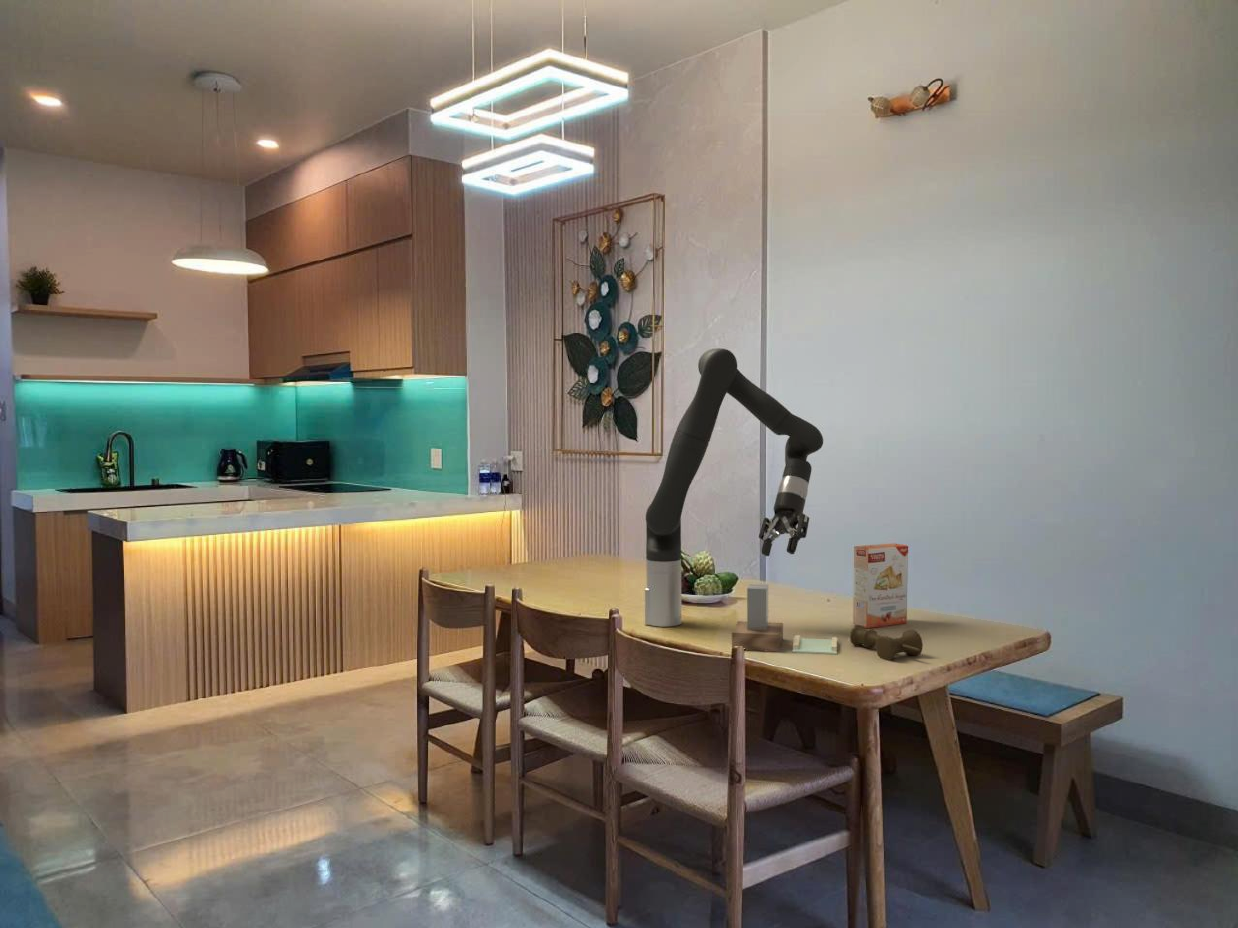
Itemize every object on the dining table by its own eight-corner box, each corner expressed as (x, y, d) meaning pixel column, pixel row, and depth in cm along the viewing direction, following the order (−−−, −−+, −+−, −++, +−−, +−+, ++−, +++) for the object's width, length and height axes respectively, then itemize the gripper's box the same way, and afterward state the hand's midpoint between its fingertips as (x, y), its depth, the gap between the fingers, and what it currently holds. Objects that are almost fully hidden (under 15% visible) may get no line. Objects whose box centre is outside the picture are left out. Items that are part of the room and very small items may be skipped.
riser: (732, 649, 219) (731, 632, 219) (738, 637, 232) (738, 621, 232) (779, 651, 217) (779, 634, 217) (782, 639, 229) (782, 622, 229)
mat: (792, 652, 216) (792, 646, 216) (795, 639, 229) (795, 633, 229) (836, 654, 214) (836, 648, 214) (837, 641, 226) (837, 635, 226)
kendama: (872, 644, 225) (936, 660, 208) (841, 650, 221) (904, 667, 203) (871, 620, 225) (935, 633, 208) (840, 625, 221) (903, 640, 203)
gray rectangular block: (747, 629, 222) (747, 588, 221) (749, 624, 228) (749, 583, 227) (766, 630, 221) (766, 588, 220) (768, 625, 227) (768, 584, 226)
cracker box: (868, 629, 239) (868, 548, 238) (852, 624, 245) (852, 545, 244) (908, 623, 246) (909, 544, 245) (892, 619, 251) (892, 542, 250)
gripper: (761, 493, 247) (747, 549, 241) (802, 487, 236) (789, 546, 230) (780, 506, 251) (766, 561, 245) (821, 500, 240) (808, 558, 233)
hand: (777, 554), depth 237 cm, fingers open, 8 cm apart
